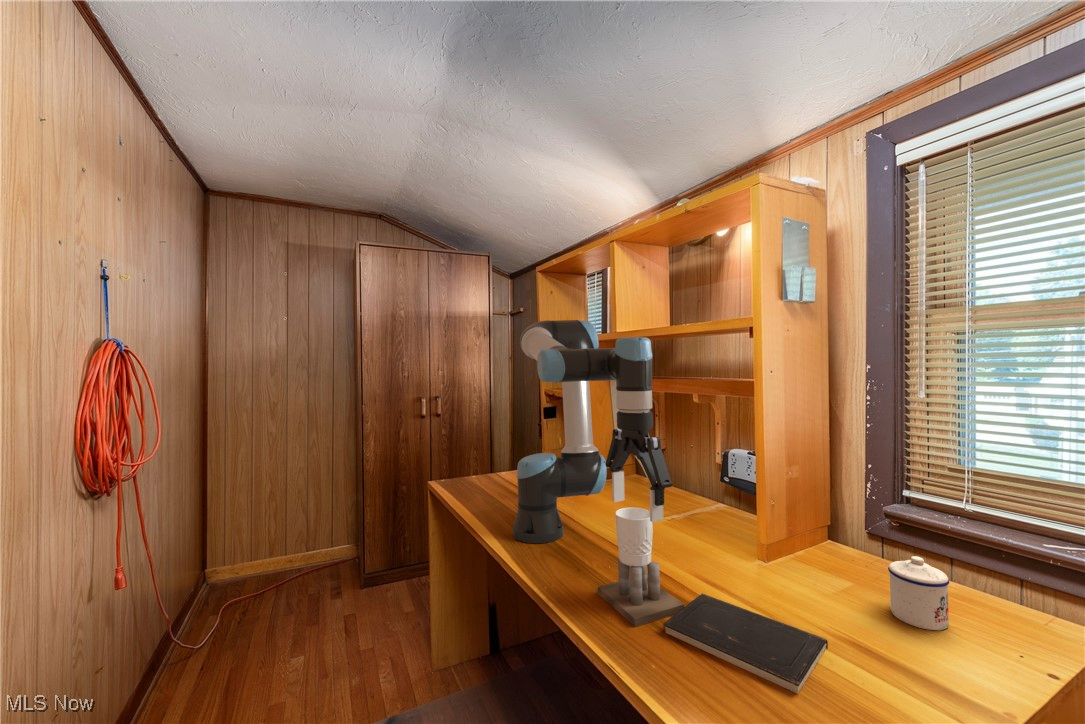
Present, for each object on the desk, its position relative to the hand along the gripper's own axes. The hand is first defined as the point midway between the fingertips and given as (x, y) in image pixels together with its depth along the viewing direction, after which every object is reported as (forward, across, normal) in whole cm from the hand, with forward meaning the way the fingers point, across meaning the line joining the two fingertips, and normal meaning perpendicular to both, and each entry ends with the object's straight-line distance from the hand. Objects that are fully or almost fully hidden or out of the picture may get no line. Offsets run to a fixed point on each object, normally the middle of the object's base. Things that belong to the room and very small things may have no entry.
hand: (636, 510), depth 96 cm
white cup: (+11, +1, 0) cm, 11 cm away
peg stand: (+19, -1, 0) cm, 19 cm away
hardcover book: (+20, -19, -9) cm, 29 cm away
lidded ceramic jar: (+19, -29, -46) cm, 57 cm away
